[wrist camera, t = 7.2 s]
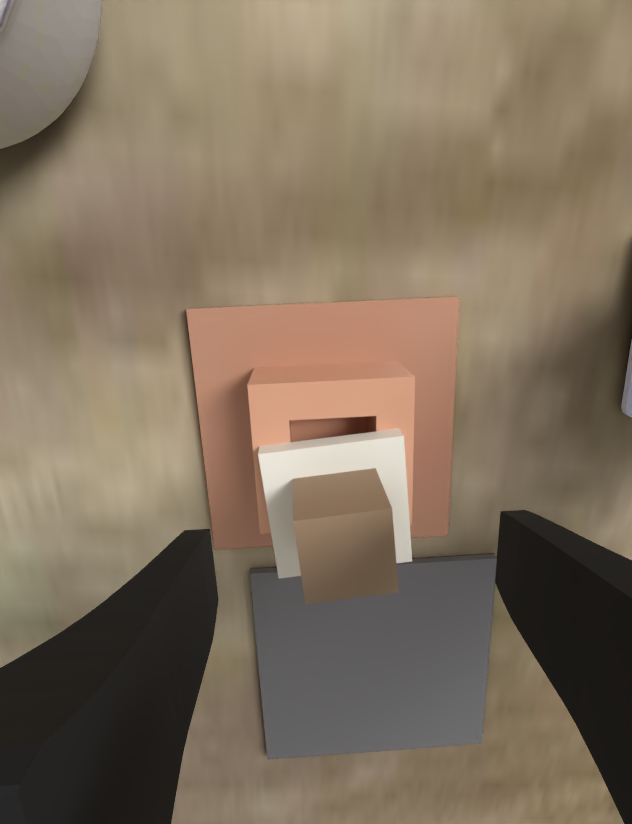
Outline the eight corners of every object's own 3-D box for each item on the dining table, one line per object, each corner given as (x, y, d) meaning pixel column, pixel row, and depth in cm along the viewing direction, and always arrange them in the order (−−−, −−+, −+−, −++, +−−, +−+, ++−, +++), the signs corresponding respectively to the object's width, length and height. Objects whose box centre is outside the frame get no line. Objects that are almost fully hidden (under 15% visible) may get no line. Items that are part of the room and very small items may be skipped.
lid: (398, 428, 18) (426, 470, 14) (407, 549, 19) (434, 615, 15) (259, 446, 18) (250, 492, 14) (279, 566, 19) (275, 636, 15)
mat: (493, 553, 23) (496, 558, 23) (479, 736, 27) (481, 743, 27) (250, 568, 23) (249, 573, 23) (267, 752, 27) (267, 759, 26)
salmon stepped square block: (455, 296, 20) (488, 302, 16) (444, 529, 23) (470, 574, 20) (188, 308, 19) (166, 316, 16) (216, 543, 23) (202, 591, 19)
